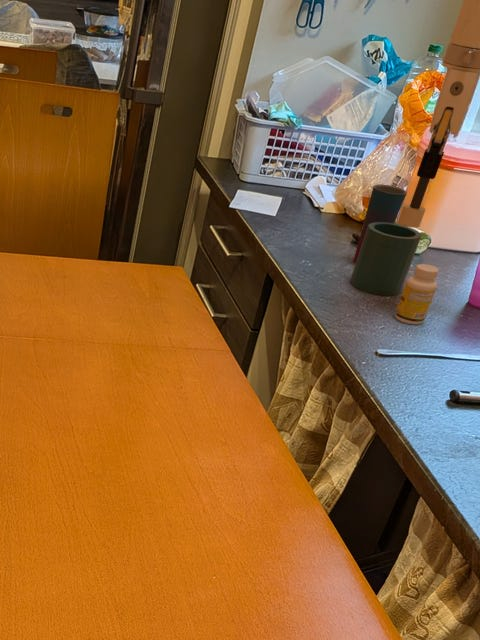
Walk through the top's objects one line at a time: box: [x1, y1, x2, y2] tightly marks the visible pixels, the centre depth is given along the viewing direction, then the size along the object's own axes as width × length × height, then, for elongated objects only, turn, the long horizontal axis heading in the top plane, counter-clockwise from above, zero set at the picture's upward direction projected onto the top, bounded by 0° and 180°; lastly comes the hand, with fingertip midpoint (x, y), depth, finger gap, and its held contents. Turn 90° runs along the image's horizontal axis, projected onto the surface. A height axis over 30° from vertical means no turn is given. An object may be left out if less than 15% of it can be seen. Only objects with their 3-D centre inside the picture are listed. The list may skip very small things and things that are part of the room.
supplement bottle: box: [394, 263, 440, 326], centre depth 174 cm, size 5×5×10 cm
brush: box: [397, 145, 442, 229], centre depth 170 cm, size 4×4×14 cm
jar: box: [349, 222, 422, 296], centre depth 187 cm, size 10×10×11 cm
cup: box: [353, 183, 408, 264], centre depth 197 cm, size 7×7×15 cm
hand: (426, 175), depth 169 cm, fingers closed on brush
